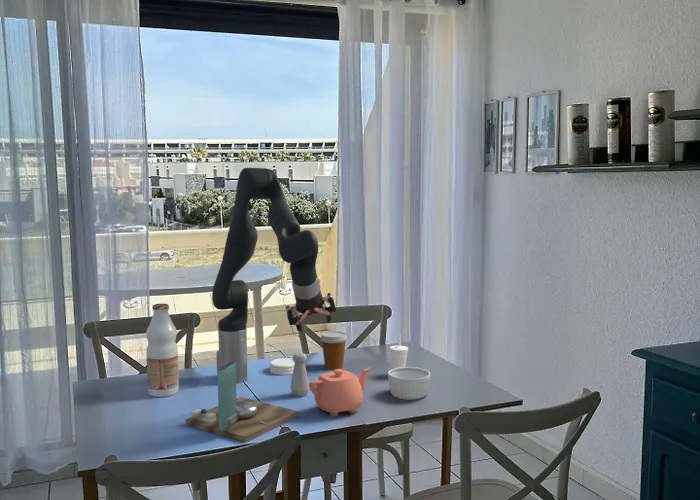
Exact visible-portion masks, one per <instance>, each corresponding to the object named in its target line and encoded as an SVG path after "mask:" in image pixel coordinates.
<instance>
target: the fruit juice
mask: <svg viewBox="0 0 700 500" xmlns="http://www.w3.org/2000/svg"><path fill="white" fill-rule="evenodd" d="M169 310H170V305H169V304H168V303H156V304H152V311H153V313H152V317H151V320H150V322H149V324H148V327H147V329H146V331H145V334H146V340H147V346H146V353H145V356H146V377H147V379H146V380H147V393H148V395H149V396H151V397H155V398H164V397H170V396H173V395H177V394H178V393H179V389H180V385H179V384H180V383H179V381H180V380H179V379H180V378H179V352H178V351H179V350H178V345H177V343H176V338H177V333H178V332H177V328H176V326H175V324H174V323H173V321H172V318H171V315H170V314H169Z"/></svg>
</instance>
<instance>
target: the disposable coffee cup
mask: <svg viewBox="0 0 700 500" xmlns="http://www.w3.org/2000/svg"><path fill="white" fill-rule="evenodd" d="M347 340H348V337H347V333H346V332H343V331H337V330H336V331H334V330H332V331H324V332H322V333H321V336H320V342H321V345H322V354H323V362H324V369H326V370H333V371H334V370H335V369H343V367H344V358H345V351H346V342H347Z"/></svg>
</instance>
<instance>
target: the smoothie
mask: <svg viewBox="0 0 700 500" xmlns="http://www.w3.org/2000/svg"><path fill="white" fill-rule="evenodd" d="M388 351H389V352H390V358H391V360H390V361H391V368H392V369H395V368H400V367H406V365H407V363H406V362H407V358H408V352H409V347H408V346H406V345H402V343H401V334H398V344H397V345H391V346H390V347H389V350H388ZM392 369H391V370H392Z"/></svg>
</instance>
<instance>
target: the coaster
mask: <svg viewBox="0 0 700 500" xmlns="http://www.w3.org/2000/svg"><path fill="white" fill-rule="evenodd" d="M294 364H295V362H294V361H293V358H288V357H285V358H284V357H283V358H282V357H280V358H274V359H272V360H271V361H270V362H269V371H270V373H271V374H273V375H278V376H288V375H293V370H294Z"/></svg>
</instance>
